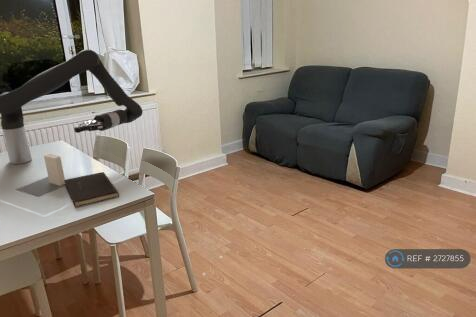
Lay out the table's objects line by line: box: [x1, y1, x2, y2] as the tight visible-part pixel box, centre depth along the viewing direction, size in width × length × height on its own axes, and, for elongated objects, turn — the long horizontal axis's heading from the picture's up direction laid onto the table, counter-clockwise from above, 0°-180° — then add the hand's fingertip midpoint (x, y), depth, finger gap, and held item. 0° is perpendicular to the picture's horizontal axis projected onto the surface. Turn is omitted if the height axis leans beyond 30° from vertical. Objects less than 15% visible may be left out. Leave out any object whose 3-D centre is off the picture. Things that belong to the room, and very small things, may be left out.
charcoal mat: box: [15, 176, 66, 198], centre depth 156 cm, size 15×15×1 cm
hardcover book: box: [64, 171, 120, 208], centre depth 150 cm, size 16×23×2 cm
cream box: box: [43, 153, 66, 186], centre depth 156 cm, size 7×3×12 cm, turn 61°
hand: (75, 130), depth 162 cm, fingers closed
